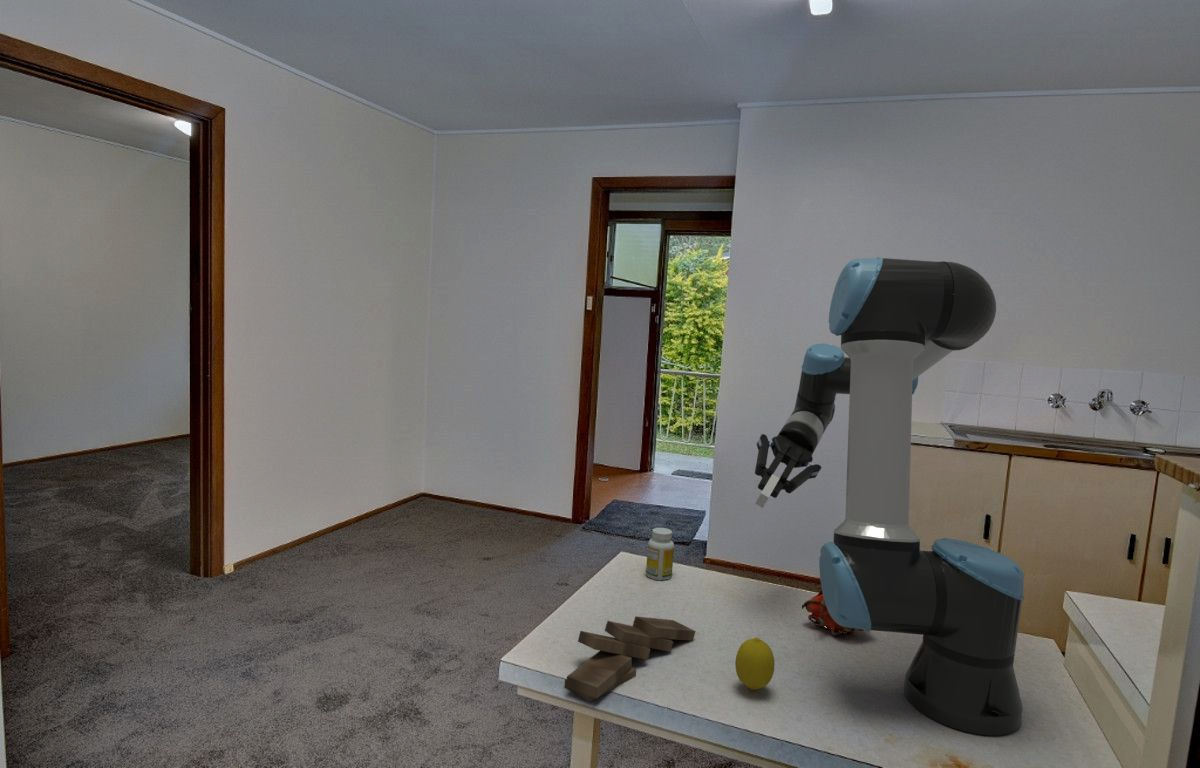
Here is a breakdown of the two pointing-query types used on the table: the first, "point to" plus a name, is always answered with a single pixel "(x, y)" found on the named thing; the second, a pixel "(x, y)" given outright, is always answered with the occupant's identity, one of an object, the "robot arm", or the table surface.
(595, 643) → the domino
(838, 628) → the dragon fruit
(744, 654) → the lemon
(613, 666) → the domino
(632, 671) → the domino
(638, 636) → the domino
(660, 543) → the supplement bottle
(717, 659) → the table surface
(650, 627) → the domino
